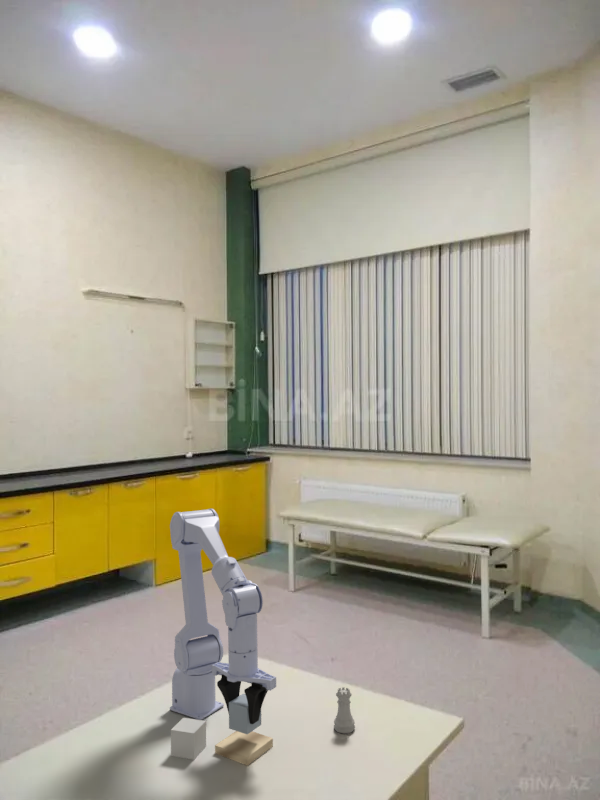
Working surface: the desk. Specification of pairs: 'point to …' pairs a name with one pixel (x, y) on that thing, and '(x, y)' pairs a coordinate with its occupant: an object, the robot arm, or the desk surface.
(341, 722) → the rook chess piece
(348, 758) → the desk surface
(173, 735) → the grey cube
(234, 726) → the slate block
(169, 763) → the desk surface
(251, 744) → the maple block
